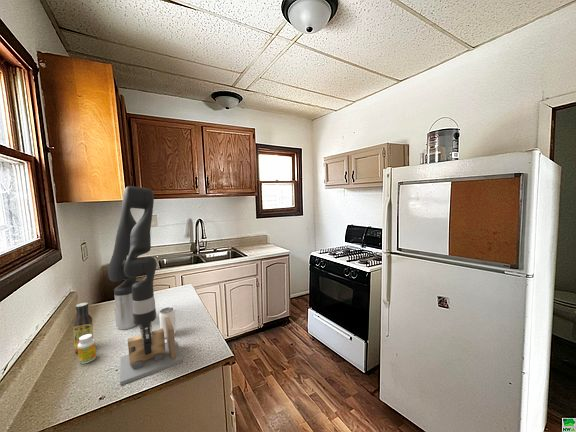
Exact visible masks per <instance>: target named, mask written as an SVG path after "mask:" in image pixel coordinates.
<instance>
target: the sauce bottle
mask: <svg viewBox="0 0 576 432" xmlns="http://www.w3.org/2000/svg"><path fill="white" fill-rule="evenodd" d="M75 309H76V310H75V311H76V316H75V317H74V320H73V341H74V343H73V344H74V351H75V353H76V354H78V344H79V343H80V342H79V338H80V337H81V336H83V335H86V334H92V339H94V331H93V329H94V328H93V327H94V326H93V317H92V316H91V315H90V313H89V303H88V302H81V303H78V304H76V305H75Z"/></svg>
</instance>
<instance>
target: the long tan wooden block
mask: <svg viewBox="0 0 576 432" xmlns="http://www.w3.org/2000/svg"><path fill="white" fill-rule="evenodd" d="M165 339H166V338H164V330H163V328H162V329H160V328H159V329H156V330H152V338H151V342H152V345H151V351H152V352H151V353H150V354H147V355H145V349H144V345H143V344H144V341H143V340H142V336H141V334H139V335H135V336H132V337H128V338H127V345H128V347H127V348H128V355H129V360H130V365H133V363H134V362H137V361H140V360H142V361H144V360H147V359H150V358H153V357H154V356H155V355H158V354H161V353H163V354H164V353H166V351H165V343H166V341H165Z"/></svg>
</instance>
